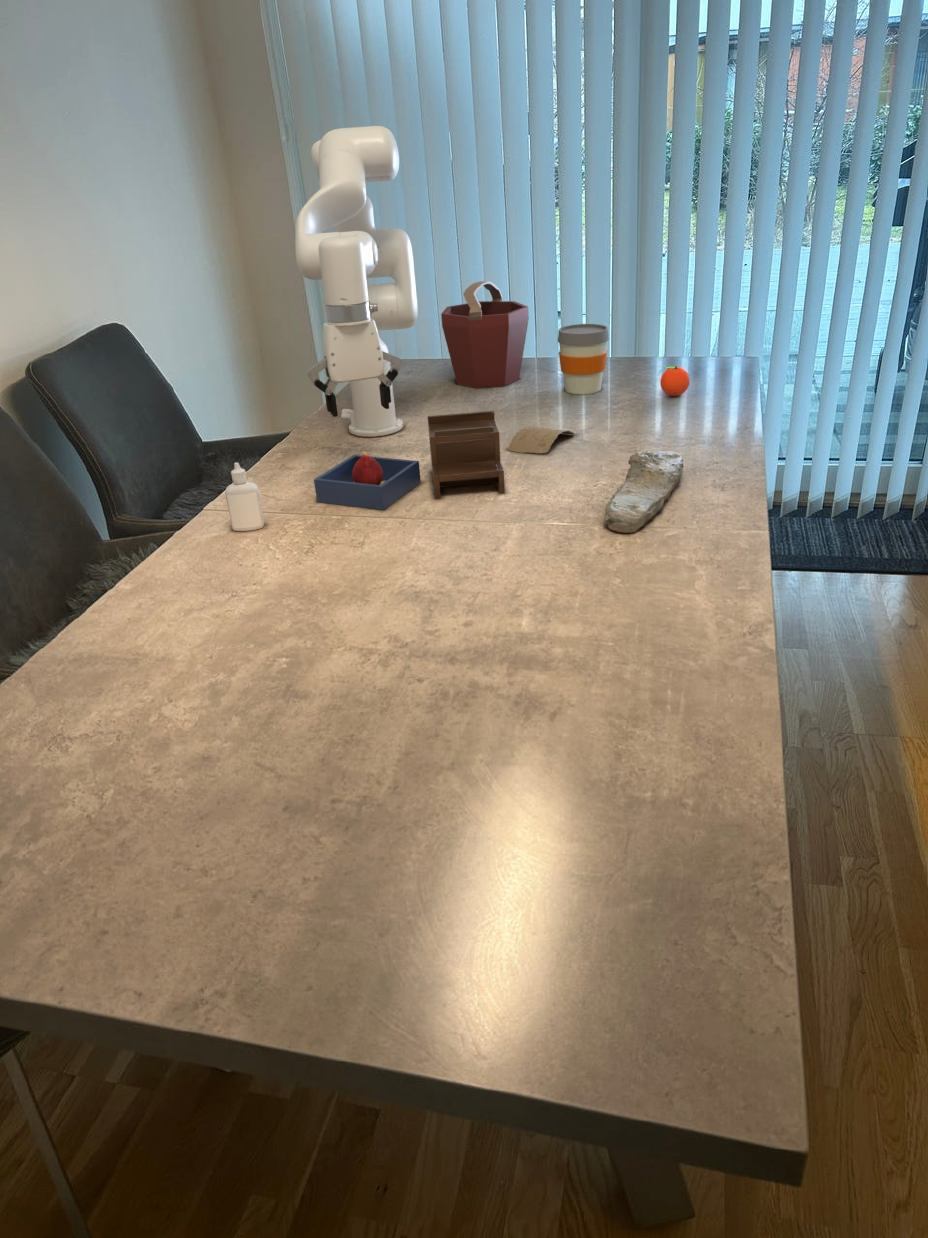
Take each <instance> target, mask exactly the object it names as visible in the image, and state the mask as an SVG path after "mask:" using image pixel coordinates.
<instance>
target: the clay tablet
mask: <svg viewBox="0 0 928 1238" xmlns="http://www.w3.org/2000/svg"><path fill="white" fill-rule="evenodd" d="M560 434H562V435H570V436H575V435H576V433H575V432H573V431H571V430H565V429H564V430H563V429H554V428H547V427H539V426H534V425H531V426H524V427H522V428H520V429H518V431H517V432H516V433H515V434H514V435H513V437H512V438H511V440H510V443H509V445H508V447H507V449H508V451H509V452H516V453H518V454H519V453H520V454H523V453H531V454H546V453H548V452H549V451H550V449H551V447H552V444H553V443H554V442H555V440H556V439H557V438H558V436H559V435H560Z"/></svg>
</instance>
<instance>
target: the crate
mask: <svg viewBox="0 0 928 1238" xmlns="http://www.w3.org/2000/svg"><path fill="white" fill-rule="evenodd" d="M369 456H370V455H369ZM361 457H362V454H353V455H351V456H350V457H348V458H347V459H345V460H343V461H342V462H340V463H338V464H337V465H335V466H334V467H332V468H330V469H328V470H327V471H325V472H324V473H322V474H321V475H319V476H317V477H316V478H314V479H313V484H314V490H315V496H316V497H315V498H316V502H317V503H323V504H331V505H339V506H347V507H353V508H354V507H355V508H363V509H370V510H378V511H379V510H380V511H385V510H387V509H388V508H390V507H391V506H392V505H393V504H395V503H397V501H399V500H400V499H402V498H403V497H404V496H406V495H407V494H408V493H409V492H410V491H412V490H414V489H415V488H416V487H418V486H419V485H420V484H421V483H422V480H421V479H422V478H421V469H420V461H419V460H412V459H403V458H402V459H401V458H390V457H380V456H370V457H372V458H374V459H375V460H376V461H377V462H378V463H379V464H380V466H381V467H382V470H383V479H382V481H384V482H383V483H381V484H380V485H373V484H363V483H355V482H354V480H353V477H352V471H353V468H354V465H355V463H356V462H357V461H358V460H359V459H360V458H361Z"/></svg>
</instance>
